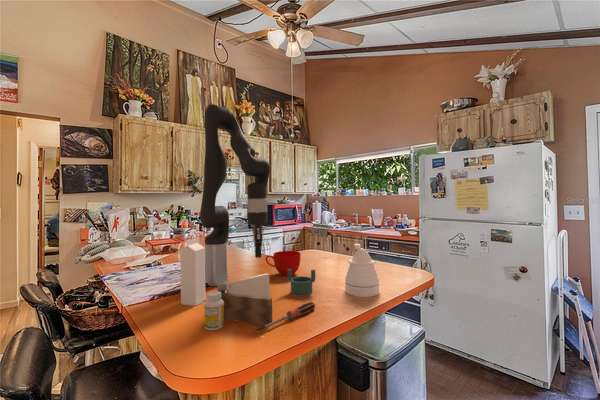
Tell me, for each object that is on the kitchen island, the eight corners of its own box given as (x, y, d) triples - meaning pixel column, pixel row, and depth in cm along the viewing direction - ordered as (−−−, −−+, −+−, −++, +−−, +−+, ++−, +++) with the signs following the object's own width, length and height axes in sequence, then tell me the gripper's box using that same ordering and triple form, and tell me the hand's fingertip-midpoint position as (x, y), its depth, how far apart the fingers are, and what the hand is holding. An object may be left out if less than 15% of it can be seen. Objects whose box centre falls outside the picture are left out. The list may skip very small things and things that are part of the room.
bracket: (317, 293, 111) (317, 270, 111) (296, 297, 106) (296, 273, 106) (305, 287, 119) (305, 265, 119) (285, 291, 114) (285, 268, 114)
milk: (180, 304, 101) (179, 241, 100) (191, 298, 107) (190, 238, 106) (196, 306, 99) (194, 241, 99) (206, 299, 105) (204, 239, 105)
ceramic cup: (269, 270, 147) (269, 250, 147) (302, 271, 144) (302, 251, 144) (262, 277, 134) (262, 255, 134) (298, 278, 131) (298, 256, 131)
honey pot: (338, 291, 113) (338, 245, 112) (356, 284, 122) (356, 241, 122) (368, 299, 104) (368, 249, 104) (385, 290, 113) (384, 244, 113)
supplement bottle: (211, 332, 79) (211, 297, 79) (200, 327, 83) (200, 293, 83) (227, 326, 83) (227, 292, 83) (217, 321, 87) (216, 289, 87)
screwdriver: (259, 338, 77) (259, 327, 77) (252, 335, 79) (252, 324, 78) (317, 310, 95) (317, 301, 95) (310, 308, 97) (310, 299, 97)
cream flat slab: (220, 315, 90) (219, 286, 90) (216, 313, 92) (215, 284, 92) (270, 300, 103) (270, 274, 103) (266, 298, 105) (265, 272, 105)
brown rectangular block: (212, 317, 90) (212, 293, 89) (221, 312, 94) (220, 288, 94) (270, 325, 83) (269, 299, 83) (276, 319, 87) (276, 295, 87)
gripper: (246, 210, 115) (248, 254, 115) (247, 211, 102) (248, 261, 102) (266, 210, 116) (267, 253, 116) (268, 211, 103) (269, 260, 103)
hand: (258, 257), depth 109 cm, fingers closed
